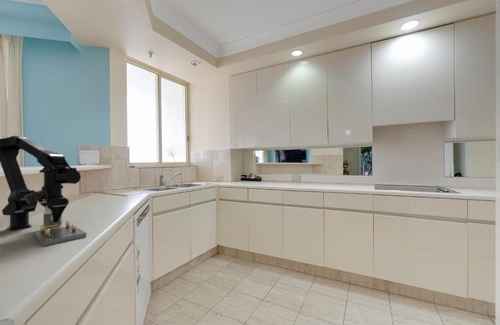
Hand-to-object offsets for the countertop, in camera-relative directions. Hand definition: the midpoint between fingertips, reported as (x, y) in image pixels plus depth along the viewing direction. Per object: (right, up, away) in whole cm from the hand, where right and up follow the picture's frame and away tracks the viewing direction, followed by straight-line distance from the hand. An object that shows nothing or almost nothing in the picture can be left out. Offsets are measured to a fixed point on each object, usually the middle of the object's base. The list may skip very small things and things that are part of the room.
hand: (52, 220), depth 93 cm
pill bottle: (0, -4, 0) cm, 4 cm away
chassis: (+11, -4, -10) cm, 15 cm away
